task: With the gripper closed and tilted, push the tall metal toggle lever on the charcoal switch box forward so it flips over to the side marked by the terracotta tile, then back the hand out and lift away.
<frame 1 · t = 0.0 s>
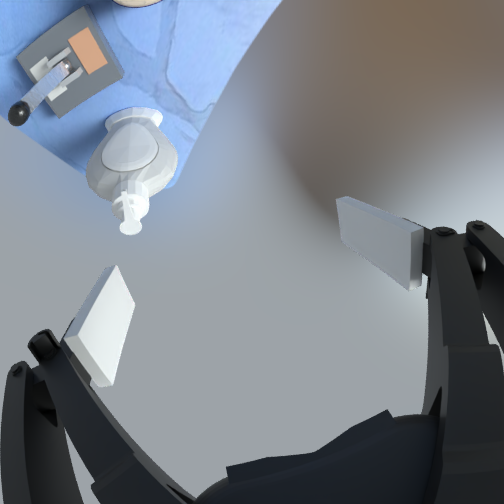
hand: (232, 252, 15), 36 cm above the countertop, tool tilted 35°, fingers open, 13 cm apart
switch base: (72, 59, 26), on the countertop
lever: (42, 88, 22), point 9 cm above the countertop, hinge at -22.0°
soap bottle: (133, 112, 39), on the countertop
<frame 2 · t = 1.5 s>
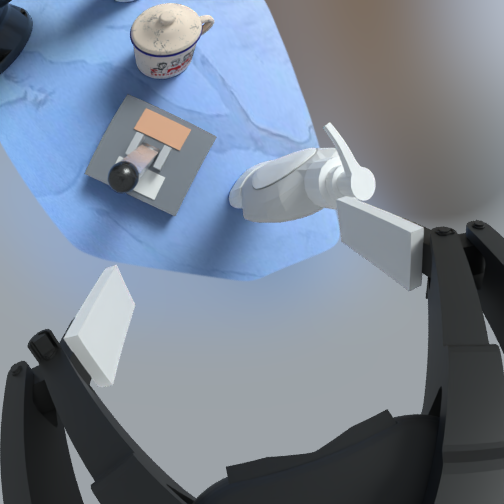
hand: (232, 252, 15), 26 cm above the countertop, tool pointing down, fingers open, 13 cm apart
teacup with lid: (172, 52, 33), on the countertop
switch base: (150, 155, 36), on the countertop
lever: (137, 163, 27), point 9 cm above the countertop, hinge at -22.0°
soap bottle: (250, 177, 41), on the countertop
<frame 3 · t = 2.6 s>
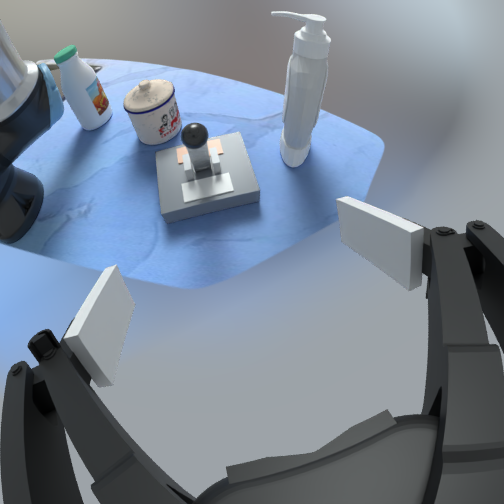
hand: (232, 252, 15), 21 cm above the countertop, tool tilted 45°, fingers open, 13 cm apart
teacup with lid: (163, 125, 48), on the countertop
switch base: (205, 179, 42), on the countertop
milk bottle: (98, 119, 49), on the countertop
lever: (198, 151, 33), point 9 cm above the countertop, hinge at -22.0°
soap bottle: (287, 145, 45), on the countertop
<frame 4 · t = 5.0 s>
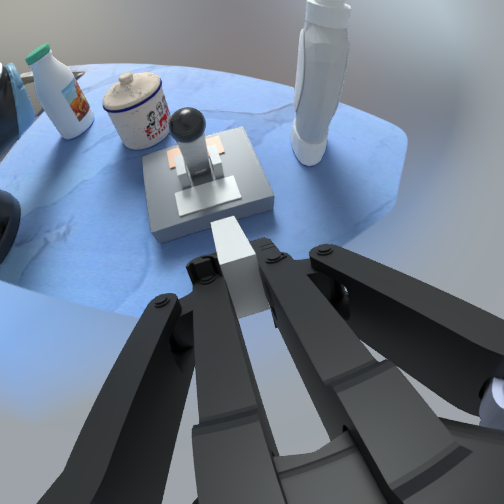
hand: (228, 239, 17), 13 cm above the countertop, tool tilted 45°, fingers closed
teacup with lid: (151, 126, 40), on the countertop
switch base: (204, 186, 35), on the countertop
milk bottle: (79, 127, 42), on the countertop
lever: (193, 148, 25), point 9 cm above the countertop, hinge at -22.0°
soap bottle: (299, 141, 38), on the countertop
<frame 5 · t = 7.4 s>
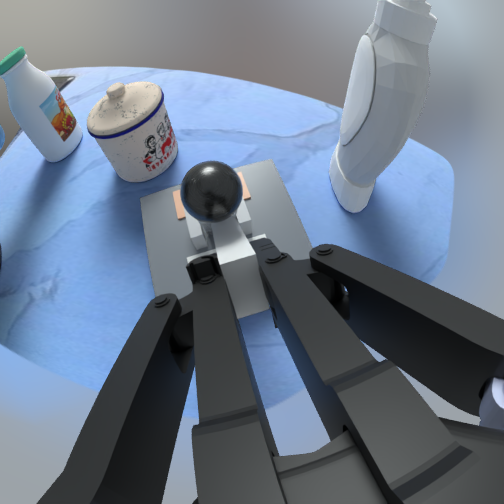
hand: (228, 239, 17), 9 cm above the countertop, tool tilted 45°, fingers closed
teacup with lid: (151, 149, 33), on the countertop
switch base: (224, 240, 28), on the countertop
milk bottle: (65, 146, 35), on the countertop
lever: (215, 210, 18), point 9 cm above the countertop, hinge at -21.9°, touching gripper
soap bottle: (339, 176, 30), on the countertop
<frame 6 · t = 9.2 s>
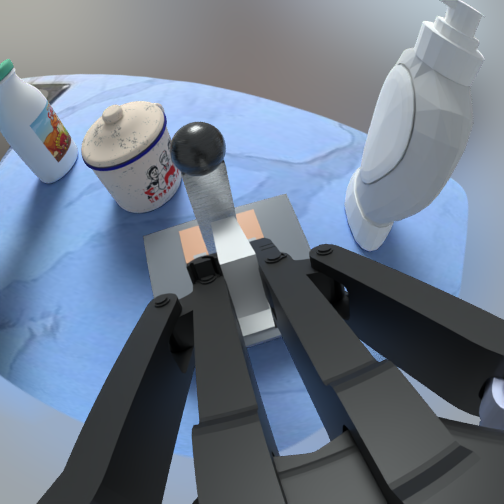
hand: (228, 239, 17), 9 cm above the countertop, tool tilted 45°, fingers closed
teacup with lid: (152, 174, 31), on the countertop
switch base: (235, 283, 26), on the countertop
milk bottle: (60, 165, 33), on the countertop
lever: (216, 217, 18), point 9 cm above the countertop, hinge at 18.5°, touching gripper
soap bottle: (355, 209, 29), on the countertop
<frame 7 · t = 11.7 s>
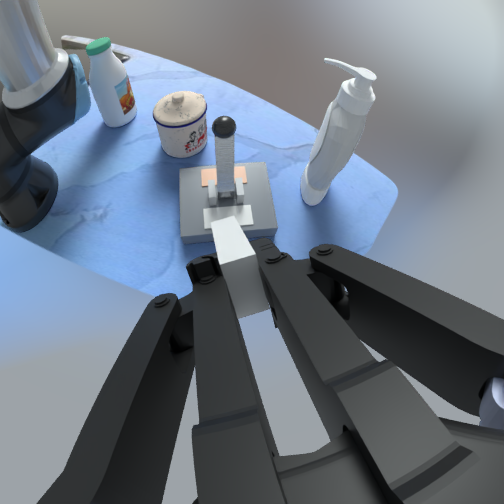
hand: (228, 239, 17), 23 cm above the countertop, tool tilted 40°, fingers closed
teacup with lid: (188, 137, 49), on the countertop
switch base: (225, 205, 44), on the countertop
milk bottle: (121, 116, 50), on the countertop
lever: (224, 160, 36), point 9 cm above the countertop, hinge at 18.7°
soap bottle: (307, 181, 48), on the countertop
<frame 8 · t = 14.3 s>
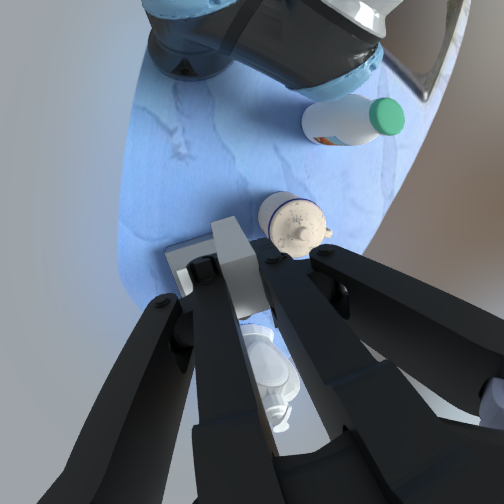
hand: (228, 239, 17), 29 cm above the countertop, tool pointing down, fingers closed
teacup with lid: (288, 217, 49), on the countertop
switch base: (210, 272, 50), on the countertop
milk bottle: (320, 124, 44), on the countertop
lever: (226, 295, 42), point 9 cm above the countertop, hinge at 18.7°
soap bottle: (250, 328, 56), on the countertop
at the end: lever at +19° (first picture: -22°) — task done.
